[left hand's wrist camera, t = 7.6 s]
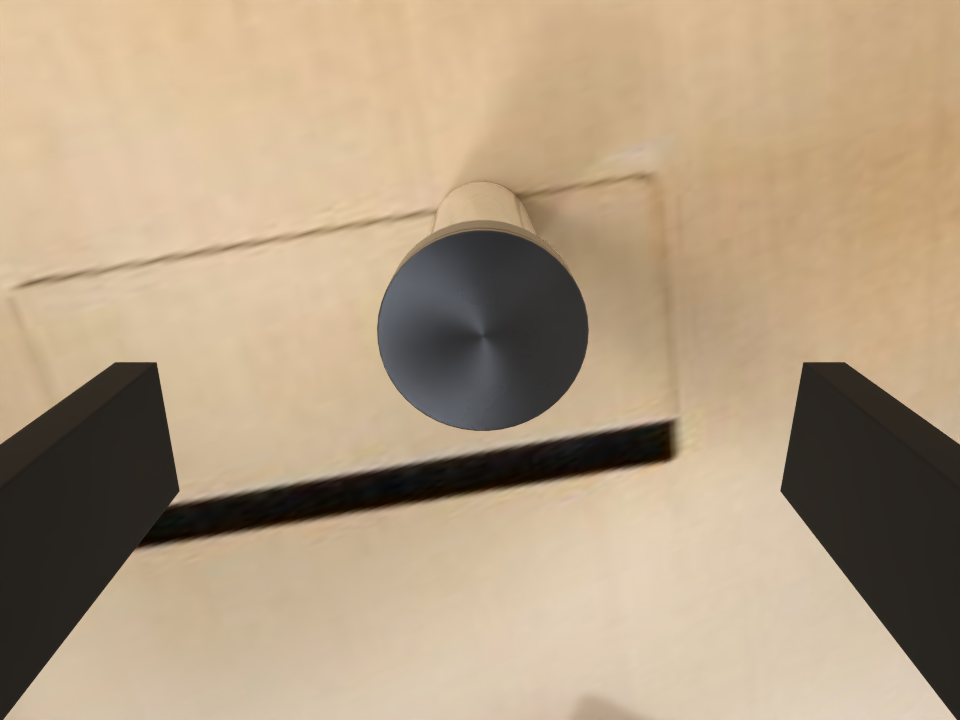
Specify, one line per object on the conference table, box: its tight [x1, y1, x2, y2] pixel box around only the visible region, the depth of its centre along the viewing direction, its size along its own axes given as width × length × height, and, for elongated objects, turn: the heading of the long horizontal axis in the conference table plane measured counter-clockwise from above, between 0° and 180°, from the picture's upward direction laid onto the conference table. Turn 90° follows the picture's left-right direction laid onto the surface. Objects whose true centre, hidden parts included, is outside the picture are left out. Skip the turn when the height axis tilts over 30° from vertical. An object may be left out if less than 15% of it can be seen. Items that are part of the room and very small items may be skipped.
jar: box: [427, 182, 537, 236], centre depth 26 cm, size 5×5×15 cm
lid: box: [377, 220, 589, 431], centre depth 19 cm, size 6×6×2 cm
